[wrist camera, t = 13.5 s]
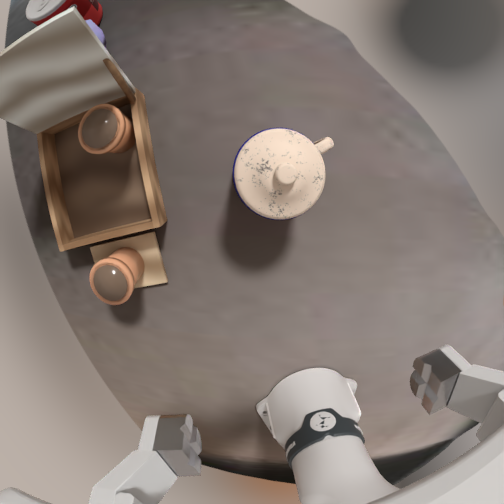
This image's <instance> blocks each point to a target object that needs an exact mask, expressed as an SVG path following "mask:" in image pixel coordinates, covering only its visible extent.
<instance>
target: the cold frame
mask: <svg viewBox="0 0 504 504" xmlns="http://www.w3.org/2000/svg"><path fill="white" fill-rule="evenodd" d="M99 104H110V105H113V106H115V107H116V108H118V109H119V110H120V111H121V112H122V113H123V114H124V115H126V116H128V117H130V118H132V119H133V125H134V131H135V138H136V142H135V144H134V145H133V147H132V148H130V149H129V150H128V151H126V152H124V153H109V152H108V153H105V154H93V153H89V152H87V151H86V150H85V149H84V148H83V147H82V146H81V144H80V142H79V138H78V129H79V125H80V122H81V120H82V118H83V116H84V115H85V114H86V112H87V111H88V110H90V109H91V108H92V107H94V106H96V105H99ZM0 118H1V119H4V120H6V121H8V122H10V123H13V124H15V125H17V126H20V127H22V128H24V129H26V130H29V131H31V132H33V133H35V134H37V139H38V148H39V156H40V164H41V170H42V177H43V182H44V188H45V193H46V198H47V203H48V207H49V212H50V216H51V220H52V224H53V228H54V232H55V236H56V239H57V243H58V246H59V250H60V252H61V251H65V250H68V249H72V248H76V247H80V246H83V245H87V244H91V243H95V242H99V241H103V240H107V239H111V238H115V237H119V236H123V235H127V234H131V233H136V232H140V231H144V230H148V229H153V228H157V227H161V226H162V225H163V224H164V223H165V222H166V221H167V217H166V212H165V208H164V203H163V199H162V194H161V189H160V185H159V180H158V175H157V170H156V164H155V159H154V154H153V148H152V142H151V136H150V130H149V124H148V118H147V111H146V104H145V97H144V95H143V94H142V93H141V92H140V91H139V90H138V89H136V88H135V87H134V86H133V85H132V83H131V82H130V80H129V79H128V78H127V76H126V75H125V74H124V72H123V71H122V70H121V68H120V67H119V66H118V64H117V63H116V62H115V60H114V59H113V58H112V56H111V55H110V54H109V52H108V51H107V49H106V48H105V47H104V45H103V44H102V43H101V41H100V40H99V39H98V37H97V36H96V35H95V33H94V32H93V31H92V29H91V28H90V27H89V25H88V24H87V23H86V21H85V20H84V19H83V17H82V16H81V15H80V13H79V12H78V11H77V9H76V8H75V6H73V7H71V8H69V9H68V10H66V11H64V12H62V13H60V14H58V15H56V16H55V17H53V18H51V19H49V20H48V21H46V22H44V23H43V24H41V25H39V26H38V27H36V28H35V29H33V30H31V31H30V32H28V33H27V34H25V35H24V36H22V37H21V38H20V39H18V40H17V41H15V42H14V43H12V44H11V45H10V46H8V47H7V48H6V49H4V50H3V51H2V52H1V53H0Z"/></svg>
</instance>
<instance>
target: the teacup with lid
mask: <svg viewBox="0 0 504 504" xmlns="http://www.w3.org/2000/svg"><path fill="white" fill-rule="evenodd" d="M333 146H334V143H333V141H332V139H331V138H330V137H325V138H323V139H320V140H318V141H316V142H314V143H313V142H312V141H311V140H309V139H308V138H307V137H306V136H304V135H303V134H301V133H299V132H297V131H294V130H291V129H287V128H270V129H266V130H263V131H260V132H258V133H256V134H254V135H253V136H251V137H250V138H249V139H248V140H247V141H246V142H245V143H244V144H243V145H242V146H241V148H240V149H239V151H238V153H237V155H236V158H235V161H234V165H233V182H234V186H235V189H236V192H237V194H238V196H239V198H240V199H241V201H242V202H243V203H244V204H245V205H246V206H247V207H248V208H249V209H250V210H251V211H252V212H254V213H256V214H257V215H259V216H261V217H264V218H267V219H272V220H287V219H292V218H295V217H297V216H300V215H302V214H303V213H305V212H306V211H308V210H309V209H310V208H311V207H312V206H313V205H314V204H315V203H316V201H317V200H318V198H319V197H320V195H321V193H322V190H323V187H324V183H325V166H324V162H323V159H322V156H321V155H322V154H323V153H325V152H327V151H328V150H330V149H331V148H332V147H333Z"/></svg>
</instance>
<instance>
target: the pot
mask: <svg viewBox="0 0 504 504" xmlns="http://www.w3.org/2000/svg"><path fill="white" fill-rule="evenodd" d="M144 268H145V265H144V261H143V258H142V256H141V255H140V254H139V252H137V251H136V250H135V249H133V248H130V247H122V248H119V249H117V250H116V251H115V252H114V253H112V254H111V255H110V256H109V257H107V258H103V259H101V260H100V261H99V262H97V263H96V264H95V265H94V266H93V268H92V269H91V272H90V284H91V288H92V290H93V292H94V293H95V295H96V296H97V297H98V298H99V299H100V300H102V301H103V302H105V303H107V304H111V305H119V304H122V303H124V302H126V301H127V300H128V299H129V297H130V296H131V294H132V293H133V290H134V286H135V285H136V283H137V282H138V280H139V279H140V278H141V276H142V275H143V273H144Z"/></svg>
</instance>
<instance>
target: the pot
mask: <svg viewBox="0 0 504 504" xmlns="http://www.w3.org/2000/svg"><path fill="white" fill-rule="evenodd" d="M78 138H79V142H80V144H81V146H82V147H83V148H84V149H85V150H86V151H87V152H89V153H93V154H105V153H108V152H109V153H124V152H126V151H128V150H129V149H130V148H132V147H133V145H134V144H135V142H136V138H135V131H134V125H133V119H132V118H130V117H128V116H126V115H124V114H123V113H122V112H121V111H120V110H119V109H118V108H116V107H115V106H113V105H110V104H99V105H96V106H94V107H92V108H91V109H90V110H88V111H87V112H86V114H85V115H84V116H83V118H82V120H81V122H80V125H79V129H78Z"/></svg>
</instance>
